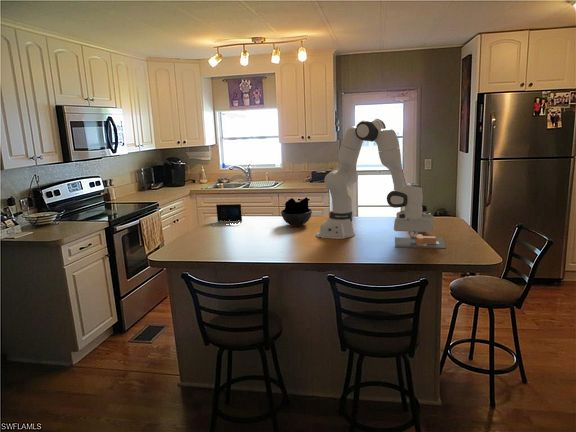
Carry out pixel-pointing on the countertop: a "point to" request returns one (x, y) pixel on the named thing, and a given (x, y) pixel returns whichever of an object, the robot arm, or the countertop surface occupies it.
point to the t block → (425, 239)
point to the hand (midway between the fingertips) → (413, 239)
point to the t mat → (412, 244)
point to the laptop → (228, 214)
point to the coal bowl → (296, 212)
